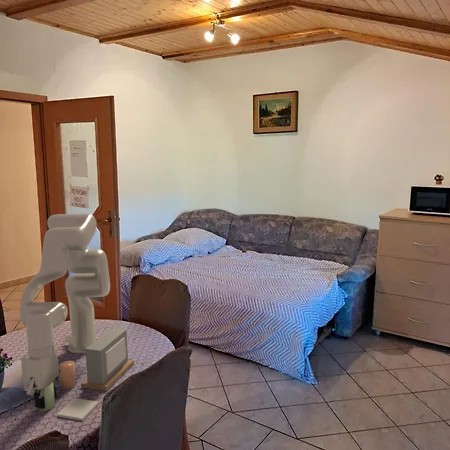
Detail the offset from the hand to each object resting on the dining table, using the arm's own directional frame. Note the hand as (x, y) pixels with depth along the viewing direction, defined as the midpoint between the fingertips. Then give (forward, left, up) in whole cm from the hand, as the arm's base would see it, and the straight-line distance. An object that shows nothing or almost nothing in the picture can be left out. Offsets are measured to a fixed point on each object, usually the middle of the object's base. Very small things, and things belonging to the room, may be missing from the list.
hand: (46, 402), depth 136 cm
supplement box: (-9, +8, -2) cm, 13 cm away
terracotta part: (-1, +13, -2) cm, 13 cm away
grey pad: (+11, +1, -2) cm, 11 cm away
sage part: (0, 0, -2) cm, 2 cm away
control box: (+9, +23, -2) cm, 25 cm away
